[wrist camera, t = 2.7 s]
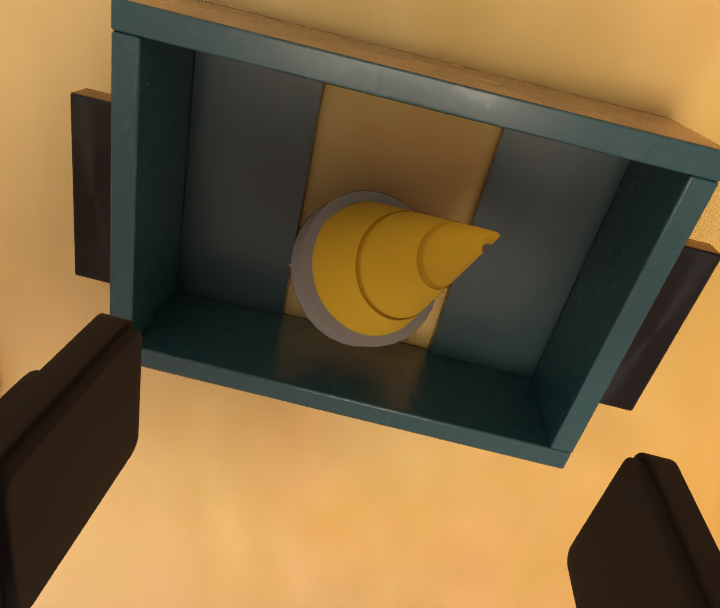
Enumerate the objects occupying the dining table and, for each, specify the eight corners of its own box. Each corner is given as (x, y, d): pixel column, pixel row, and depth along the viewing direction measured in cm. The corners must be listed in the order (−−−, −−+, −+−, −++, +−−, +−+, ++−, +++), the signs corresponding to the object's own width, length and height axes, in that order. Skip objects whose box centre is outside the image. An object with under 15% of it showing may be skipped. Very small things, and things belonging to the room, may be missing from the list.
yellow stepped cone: (272, 200, 22) (415, 100, 13) (391, 228, 25) (578, 159, 16) (256, 339, 22) (395, 329, 13) (380, 354, 24) (570, 354, 15)
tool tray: (127, 291, 24) (69, 349, 20) (135, -17, 19) (56, -18, 15) (574, 401, 25) (601, 479, 21) (714, 129, 19) (787, 166, 15)
